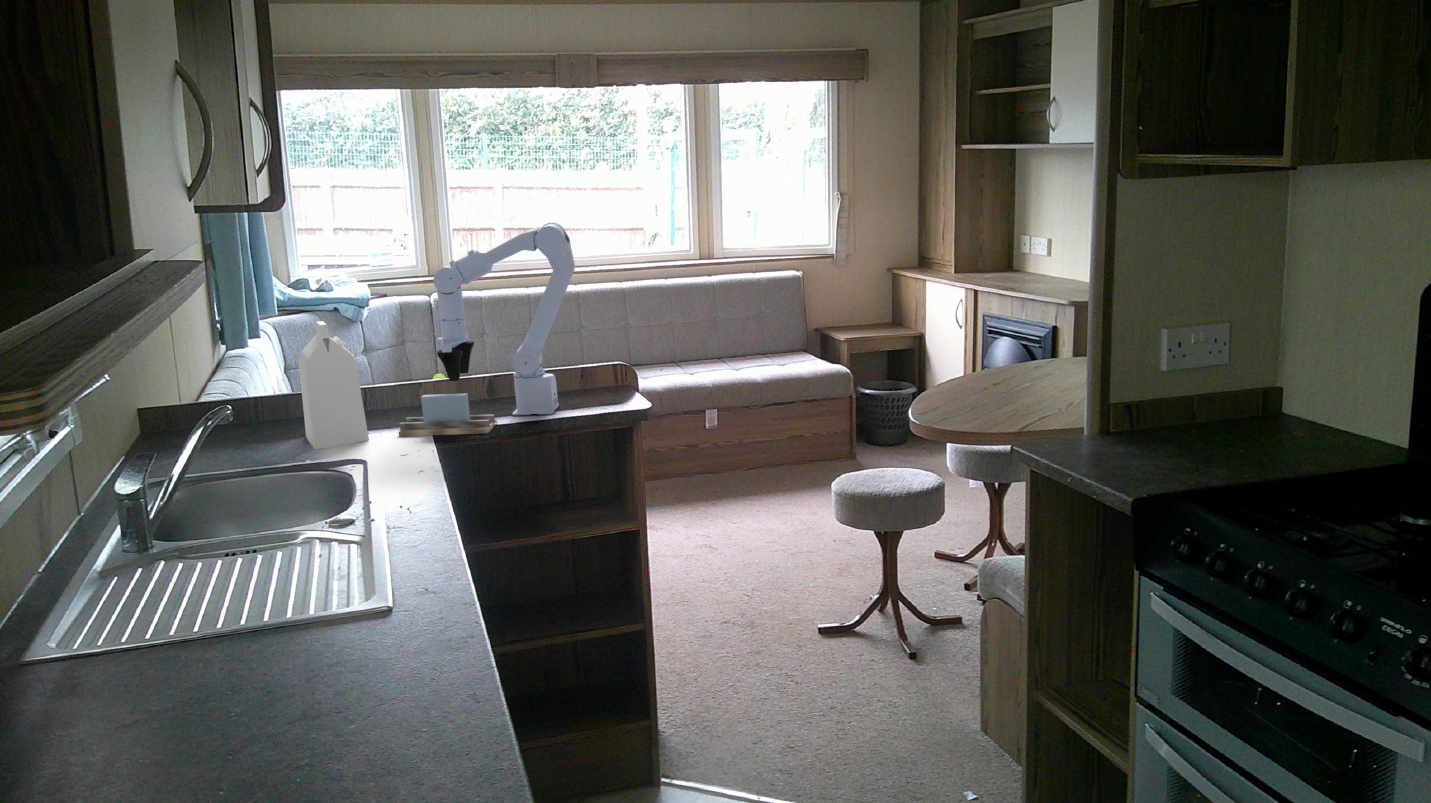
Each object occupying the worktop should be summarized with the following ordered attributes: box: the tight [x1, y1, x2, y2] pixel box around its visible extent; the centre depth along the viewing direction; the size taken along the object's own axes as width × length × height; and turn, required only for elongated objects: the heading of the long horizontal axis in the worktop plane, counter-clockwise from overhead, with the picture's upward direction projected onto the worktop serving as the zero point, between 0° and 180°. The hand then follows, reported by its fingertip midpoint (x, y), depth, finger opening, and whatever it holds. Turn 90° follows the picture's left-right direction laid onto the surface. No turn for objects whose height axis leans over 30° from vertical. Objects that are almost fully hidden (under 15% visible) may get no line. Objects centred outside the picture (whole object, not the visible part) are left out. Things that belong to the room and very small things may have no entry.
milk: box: [298, 320, 370, 450], centre depth 250 cm, size 12×12×26 cm
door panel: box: [420, 392, 471, 422], centre depth 254 cm, size 10×2×7 cm, turn 86°
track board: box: [397, 414, 498, 437], centre depth 255 cm, size 20×8×2 cm, turn 86°
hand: (459, 376), depth 264 cm, fingers open, 7 cm apart
